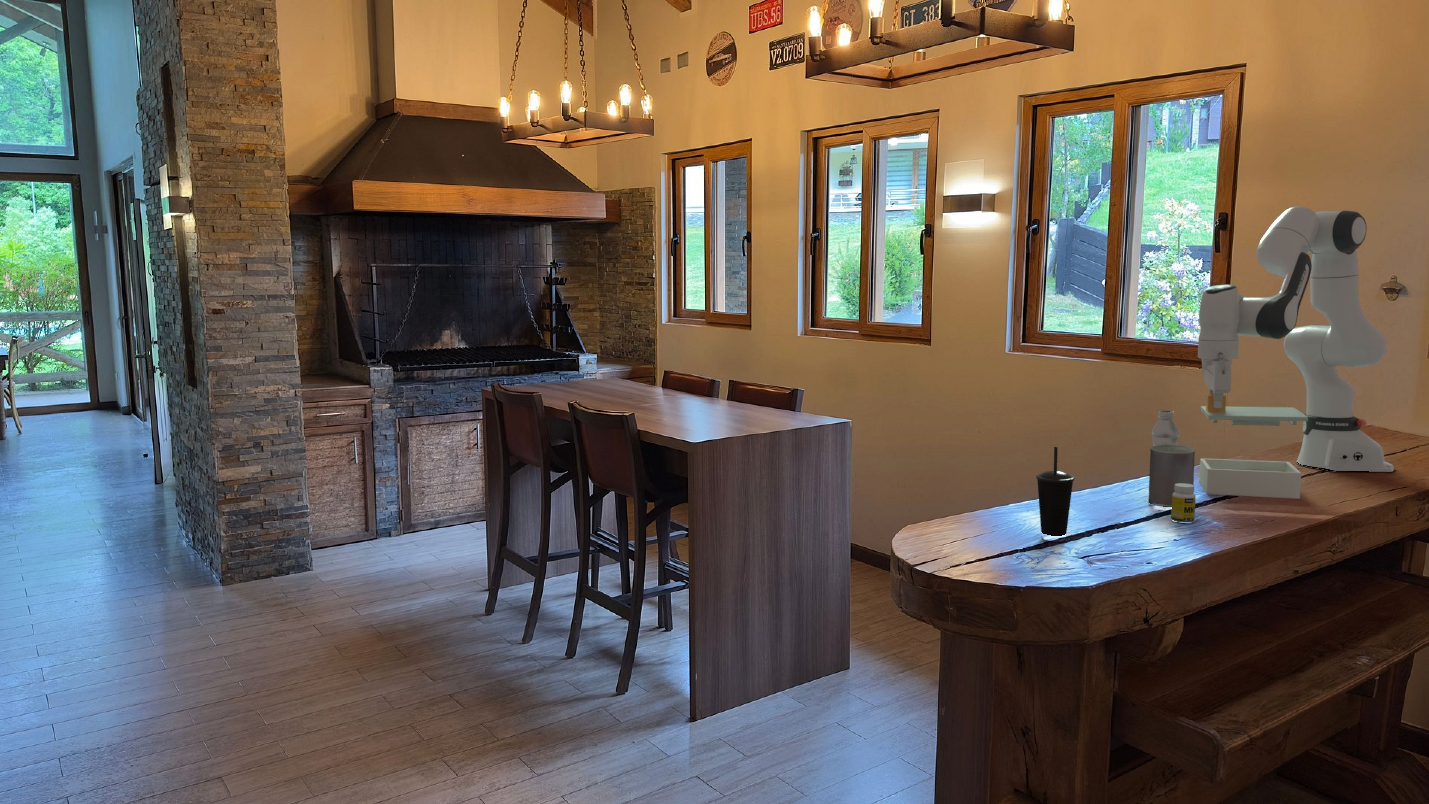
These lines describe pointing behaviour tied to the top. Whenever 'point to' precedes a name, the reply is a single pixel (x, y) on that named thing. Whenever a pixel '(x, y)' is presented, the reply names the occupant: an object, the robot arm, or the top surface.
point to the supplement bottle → (1183, 503)
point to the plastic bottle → (1165, 429)
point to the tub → (1250, 478)
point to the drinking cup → (1054, 499)
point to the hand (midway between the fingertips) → (1215, 406)
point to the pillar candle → (1169, 471)
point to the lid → (1251, 414)
